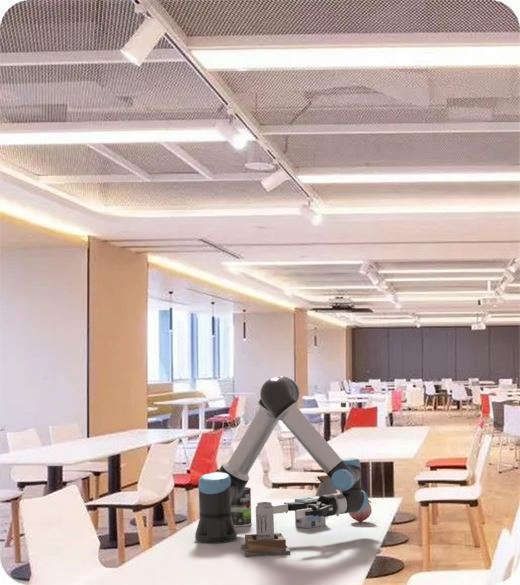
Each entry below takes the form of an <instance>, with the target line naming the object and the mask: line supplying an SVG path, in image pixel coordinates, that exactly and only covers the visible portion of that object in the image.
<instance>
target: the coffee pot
mask: <svg viewBox="0 0 520 585" xmlns="http://www.w3.org/2000/svg"><path fill="white" fill-rule="evenodd" d="M316 478H317V480H316ZM314 479H315V482H317V481H319V485H318V487H317V491H316V492H315V495H314V496H318V497H320V496H322V495H330V494H335V493H338V490H337V489H335V488H334V487H333V485H332V481H331V479H330V478H329V477H328V475H319V476H316V477H314Z"/></svg>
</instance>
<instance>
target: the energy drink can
mask: <svg viewBox="0 0 520 585" xmlns="http://www.w3.org/2000/svg"><path fill="white" fill-rule="evenodd" d="M273 506H274V505H272V502H269V501H261V502H257V505H256V506H255V528H256V530H255V531H256V533H255V534H256V537H257V540H268V539H274V533H275V523H274V522H275V521H274V515H275V514H273Z"/></svg>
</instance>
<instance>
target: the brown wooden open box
mask: <svg viewBox="0 0 520 585" xmlns="http://www.w3.org/2000/svg"><path fill="white" fill-rule="evenodd" d="M286 541H287V539H286V538H285V537H284V536H283V534H282V533H281V532H274V539H268V540H257V537H256V533H252V534H244V543H241V544H240V545H241V546H240V548H241V550H242V552H243V554H244V555H245V557H246V558H248V557H249V558H251V557H252V558H253V557H268V556H269V557H270V556H283V555H284V556H285V555H287V556H288V555H291V550H290V549H289V547H288V546H287V542H286Z"/></svg>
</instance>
